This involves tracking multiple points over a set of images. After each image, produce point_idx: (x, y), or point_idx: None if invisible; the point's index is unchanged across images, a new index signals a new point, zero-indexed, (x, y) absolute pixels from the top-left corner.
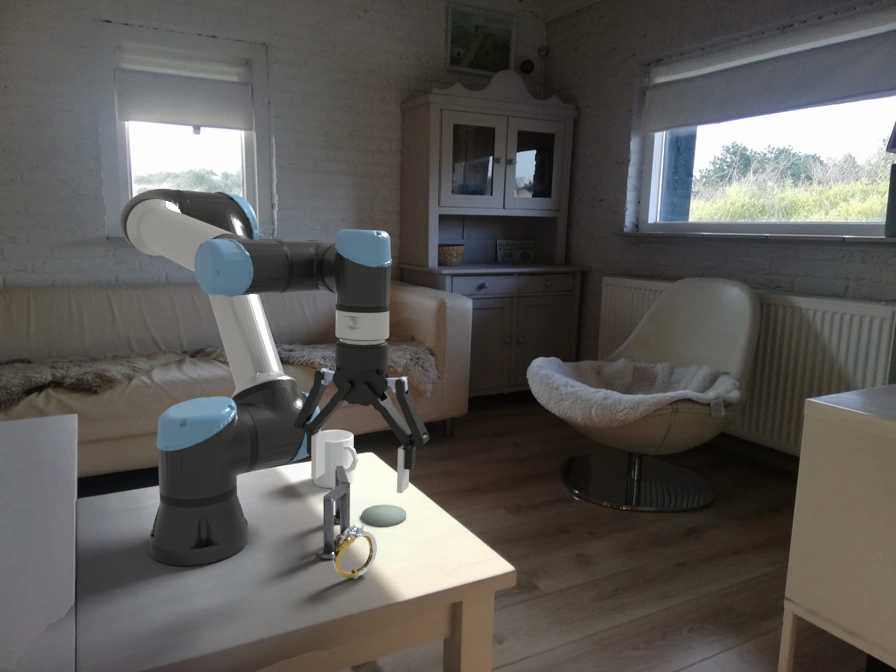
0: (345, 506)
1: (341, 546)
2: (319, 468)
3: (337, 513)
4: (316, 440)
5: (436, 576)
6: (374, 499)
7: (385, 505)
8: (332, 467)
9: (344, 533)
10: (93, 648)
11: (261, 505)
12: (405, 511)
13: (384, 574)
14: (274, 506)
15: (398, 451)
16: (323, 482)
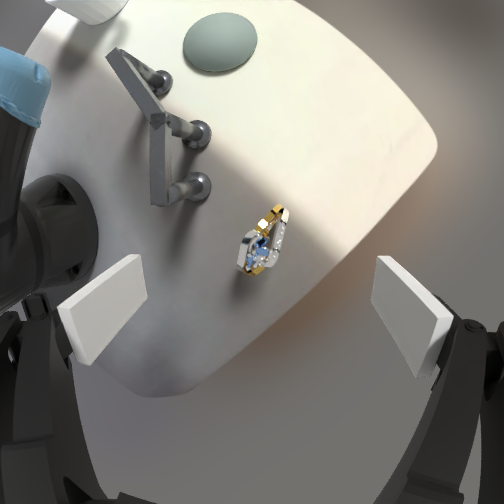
0: (180, 134)
1: (249, 274)
2: (135, 290)
3: (153, 86)
4: (96, 356)
5: (371, 189)
6: (181, 6)
7: (209, 18)
8: (95, 5)
9: (242, 258)
10: (129, 386)
11: (56, 110)
12: (249, 21)
13: (300, 207)
14: (69, 101)
15: (413, 370)
16: (96, 21)
